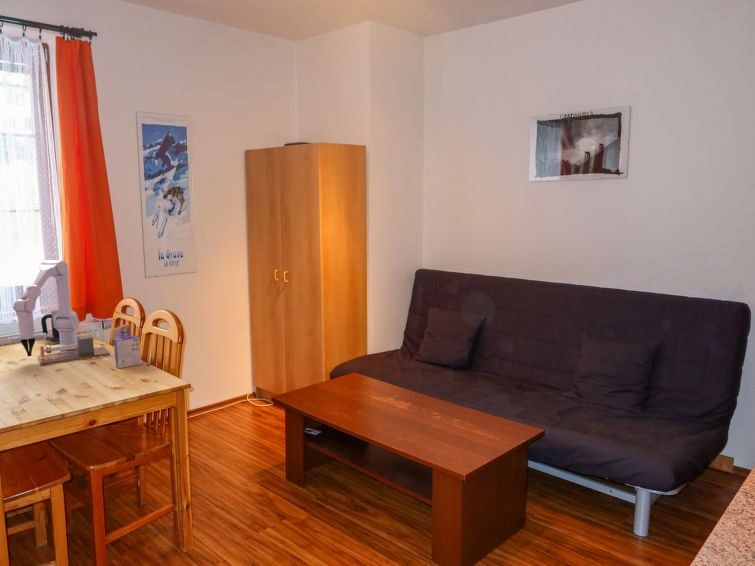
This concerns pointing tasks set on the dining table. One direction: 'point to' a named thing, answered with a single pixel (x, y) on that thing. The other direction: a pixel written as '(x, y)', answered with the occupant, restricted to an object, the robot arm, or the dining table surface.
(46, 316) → the milk frother
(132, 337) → the ink cartridge box
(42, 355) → the shaft
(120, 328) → the candy box
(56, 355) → the bearing base
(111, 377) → the dining table surface
